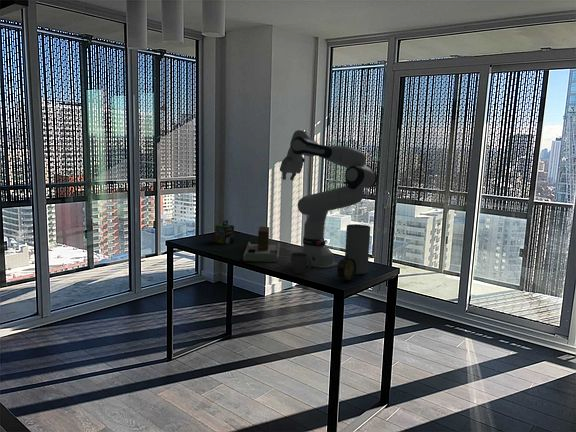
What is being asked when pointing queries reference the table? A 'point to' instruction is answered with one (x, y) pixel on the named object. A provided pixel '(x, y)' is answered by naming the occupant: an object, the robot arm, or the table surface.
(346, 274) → the alarm clock
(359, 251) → the cylinder vase
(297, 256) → the mug
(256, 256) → the box
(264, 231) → the walnut block
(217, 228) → the chalk box
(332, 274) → the table surface
